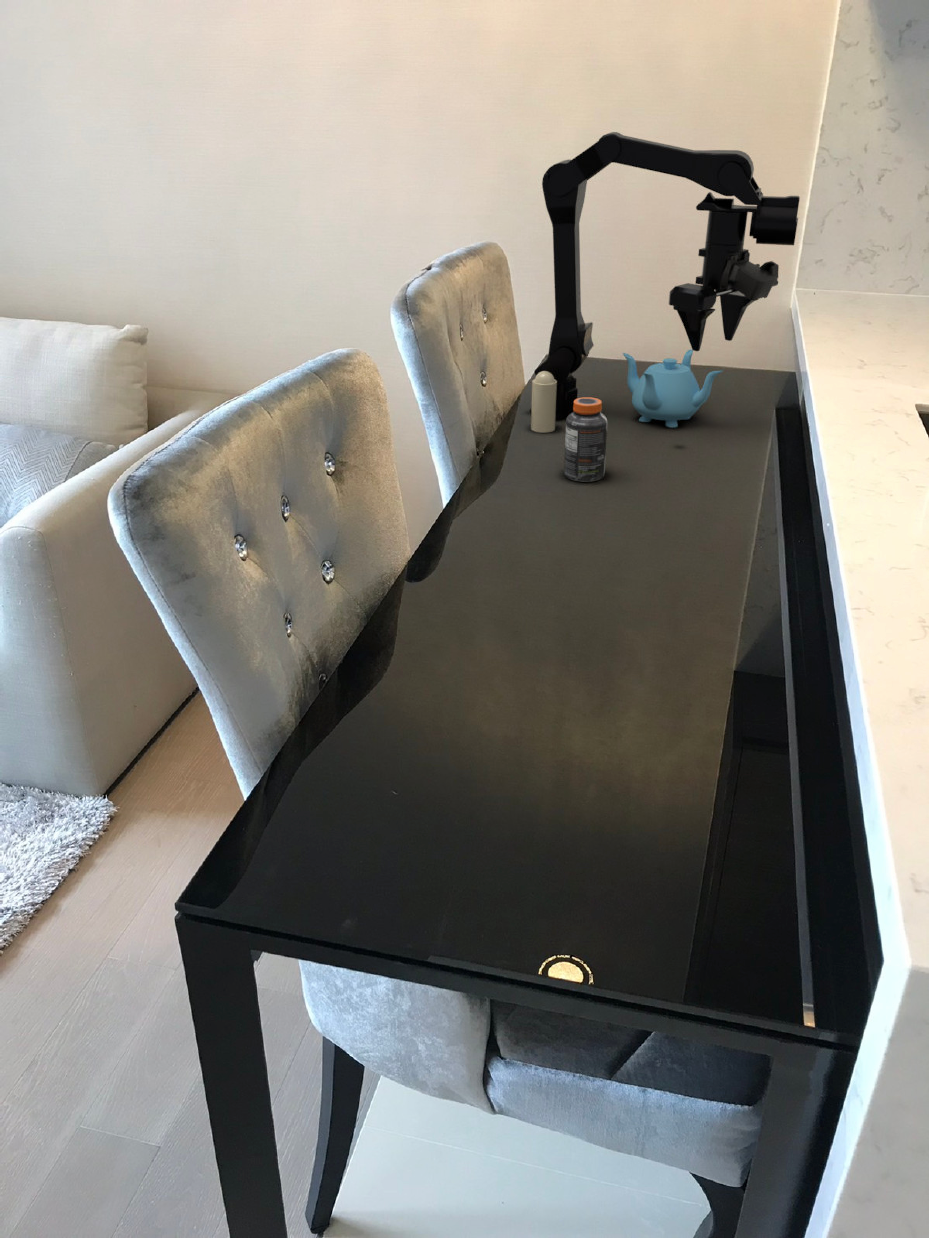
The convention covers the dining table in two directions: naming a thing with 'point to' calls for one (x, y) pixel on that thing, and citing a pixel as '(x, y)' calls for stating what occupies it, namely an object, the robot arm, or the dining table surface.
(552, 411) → the salt shaker
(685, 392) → the teapot
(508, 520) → the dining table surface
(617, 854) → the dining table surface
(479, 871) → the dining table surface
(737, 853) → the dining table surface
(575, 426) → the pill bottle
